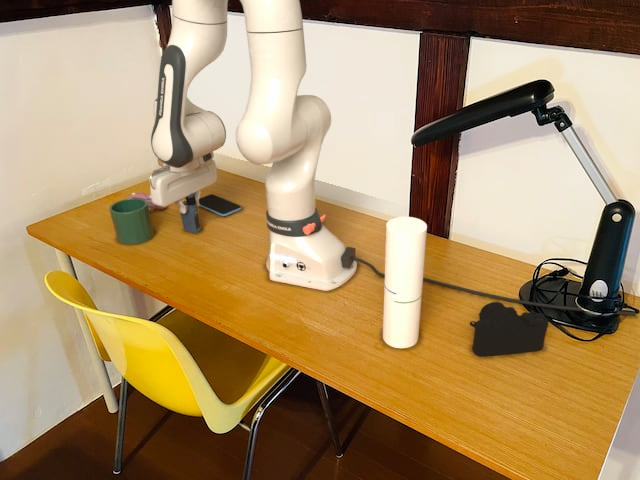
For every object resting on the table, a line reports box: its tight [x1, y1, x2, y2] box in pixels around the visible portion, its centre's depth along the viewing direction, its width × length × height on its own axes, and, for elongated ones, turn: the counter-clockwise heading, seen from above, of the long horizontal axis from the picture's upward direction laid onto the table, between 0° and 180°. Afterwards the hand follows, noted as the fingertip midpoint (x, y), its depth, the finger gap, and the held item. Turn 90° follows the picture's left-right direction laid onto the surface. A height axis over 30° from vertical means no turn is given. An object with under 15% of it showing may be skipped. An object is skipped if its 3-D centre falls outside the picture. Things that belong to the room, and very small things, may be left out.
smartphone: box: [198, 193, 243, 217], centre depth 158 cm, size 7×1×15 cm
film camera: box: [469, 301, 550, 358], centre depth 104 cm, size 15×10×9 cm, turn 98°
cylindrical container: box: [382, 216, 428, 349], centre depth 100 cm, size 7×7×25 cm
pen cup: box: [108, 198, 155, 246], centre depth 140 cm, size 9×9×9 cm
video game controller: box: [127, 192, 167, 213], centre depth 155 cm, size 10×5×7 cm, turn 73°
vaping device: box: [179, 193, 202, 234], centre depth 142 cm, size 3×5×12 cm, turn 65°
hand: (190, 209), depth 142 cm, fingers closed on vaping device, 2 cm apart
